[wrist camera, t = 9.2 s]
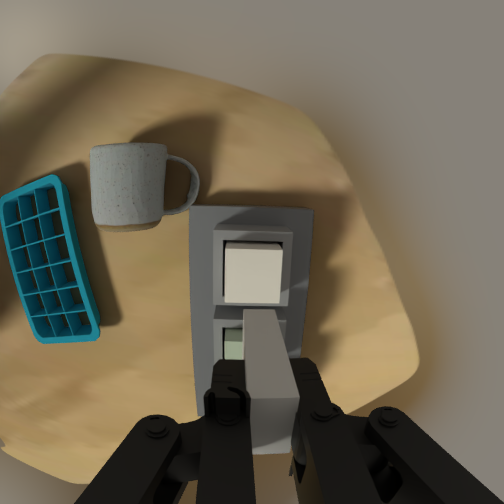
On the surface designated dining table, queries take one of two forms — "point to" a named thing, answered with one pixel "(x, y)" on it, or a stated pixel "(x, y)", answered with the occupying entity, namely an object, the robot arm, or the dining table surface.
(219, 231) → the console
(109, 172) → the ceramic mug
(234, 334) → the sage key
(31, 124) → the dining table surface
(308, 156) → the dining table surface
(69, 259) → the ice cube tray
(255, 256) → the ivory key
